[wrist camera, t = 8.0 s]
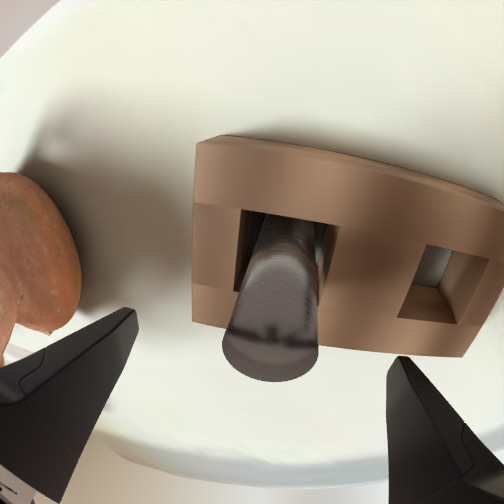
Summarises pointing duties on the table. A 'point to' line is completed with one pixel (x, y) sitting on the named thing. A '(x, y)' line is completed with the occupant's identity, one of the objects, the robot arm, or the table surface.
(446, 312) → the hole block
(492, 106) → the table surface
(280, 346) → the peg
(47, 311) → the ceramic jug
